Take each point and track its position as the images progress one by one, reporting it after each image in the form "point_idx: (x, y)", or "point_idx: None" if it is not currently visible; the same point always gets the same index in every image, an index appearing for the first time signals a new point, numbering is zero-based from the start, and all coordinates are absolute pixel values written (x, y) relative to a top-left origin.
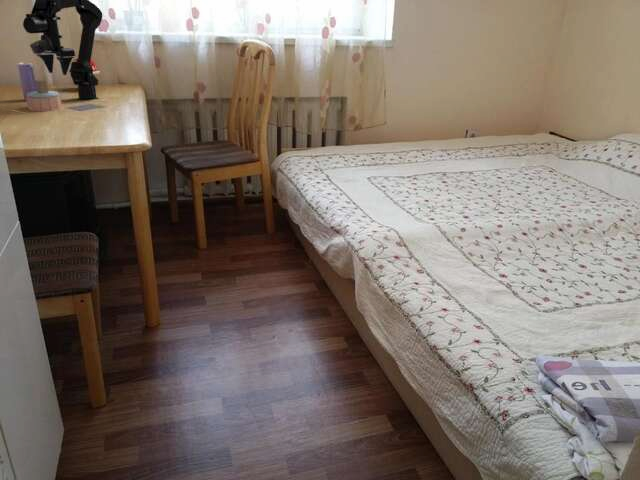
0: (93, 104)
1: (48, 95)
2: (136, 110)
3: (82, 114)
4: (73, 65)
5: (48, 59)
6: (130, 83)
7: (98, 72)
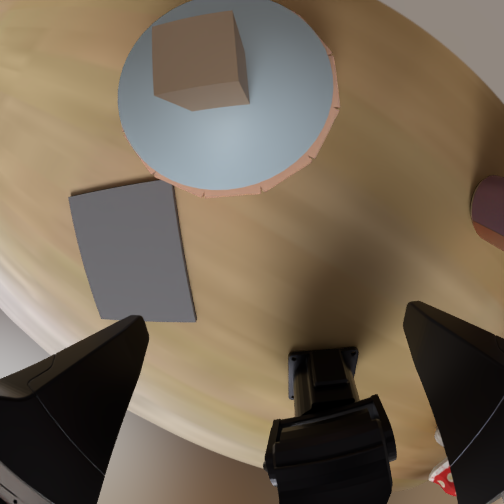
0: (170, 319)
1: (120, 84)
2: (39, 336)
3: (35, 179)
4: (369, 487)
5: (486, 428)
6: (410, 481)
7: (429, 479)
